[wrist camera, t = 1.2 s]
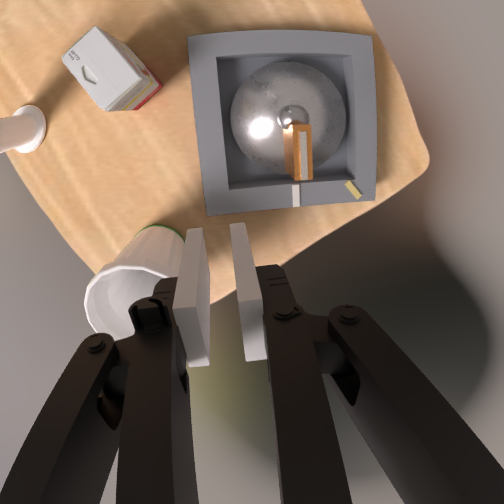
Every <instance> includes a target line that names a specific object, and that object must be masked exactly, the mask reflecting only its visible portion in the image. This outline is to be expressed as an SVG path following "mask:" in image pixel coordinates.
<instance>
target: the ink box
mask: <svg viewBox="0 0 504 504" xmlns="http://www.w3.org/2000/svg"><path fill="white" fill-rule="evenodd" d="M61 58H62V59H63V63H64V64H65V65H66V66H67V68H68V69H69V71H70V72H71V73H72V74H73V75H74V76H75V77H76V79H77V80H78V82H79V83H80V84H81V85H82V87H83V88H84V89H85V90H86V91H87V92H88V94H89V95H90V97H91V98H92V99H93V100H94V101H95V102H96V104H97V105H98V106H99V108H101V109H104V110H105V111H109V112H110V111H128V110H138V109H139V108H140V107H141V106H142V105H143V104H144V103H145V102H146V101H147V100H148V99H150V98H151V97H152V96H153V95H154V94H155V93H156V92H157V91H158V90H160V89H161V88H162V86H163V85H162V84H161V83H160V81H159V80H158V79H157V78H156V77H155V76H154V75H153V73H152V72H151V71H150V70H149V69H148V68H147V67H146V66H145V65H144V63H143V62H142V61H141V60H140V59H139V58H138V57H137V56H136V55H135V54H134V52H133V51H132V50H131V49H130V48H129V47H128V46H127V45H126V44H124V43H122V42H121V41H119V40H117V39H116V38H114V37H113V36H111V35H109V34H108V33H106V32H105V31H103V30H101V29H100V28H98V27H97V26H94V27H92V28H91V29H90V30H89V31H88V32H86V33H85V34H84V35H83V36H82V37H81V38H80V39H79V40H78V41H77V42H76V43H75V44H74V45H73V46H72V47H71V48H70V49H69V50H68V51H67V52H66V53H65V54H64V55H63V56H62V57H61Z"/></svg>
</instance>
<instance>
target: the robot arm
mask: <svg viewBox="0 0 504 504" xmlns="http://www.w3.org/2000/svg"><path fill="white" fill-rule="evenodd" d="M229 225H230V234H231V243H232V252H233V261H234V270H235V279H236V287H237V295H238V304H239V312H240V319H241V327H242V335H243V342H244V349H245V357H246V361H254V360H262V359H267V361H268V376H269V383H270V394H271V404H272V415H273V424H274V435H275V445H276V456H277V466H278V477H279V487H280V498H281V504H352V500H351V495H350V491H349V486H348V482H347V477H346V473H345V469H344V464H343V460H342V456H341V451H340V447H339V443H338V438H337V435H336V430H335V426H334V422H333V418H332V414H331V410H330V406H329V402H328V398H327V394H326V390H325V386H324V382H323V378H322V374H324V375H325V377H326V379H327V381H328V382H329V384H330V385H331V387H332V388H333V390H334V392H335V394H336V395H337V397H338V398H339V400H340V402H341V403H342V405H343V406H344V408H345V409H346V411H347V413H348V414H349V416H350V418H351V419H352V421H353V422H354V424H355V425H356V427H357V428H358V430H359V432H360V433H361V435H362V436H363V438H364V440H365V441H366V443H367V445H368V446H369V448H370V449H371V451H372V453H373V454H374V456H375V457H376V459H377V461H378V462H379V464H380V465H381V467H382V468H383V470H384V472H385V473H386V475H387V476H388V478H389V480H390V481H391V483H392V484H393V486H394V488H395V489H396V491H397V492H398V494H399V496H400V497H401V499H402V500H403V502H404V503H405V504H504V469H503V468H502V467H501V466H500V464H499V463H498V462H497V461H496V459H495V458H494V457H493V455H492V454H491V453H490V452H489V450H488V449H487V448H486V447H485V446H484V444H482V442H481V441H480V439H479V438H478V437H477V436H476V435H475V433H474V432H473V431H472V430H471V429H470V427H469V426H468V425H467V424H466V423H465V421H464V420H463V419H462V418H461V417H460V415H459V414H458V413H457V412H456V411H455V410H454V408H453V407H451V405H450V404H449V403H448V402H447V400H446V399H445V398H444V397H443V396H442V395H441V393H440V392H439V391H438V390H437V389H436V388H435V387H434V385H433V384H432V383H431V382H430V381H429V380H428V379H427V377H425V375H424V374H423V373H422V372H421V371H420V370H419V368H418V367H417V366H416V365H415V364H414V363H413V362H412V361H411V360H410V358H409V357H408V356H407V355H406V354H405V353H404V352H403V351H402V350H401V349H400V348H399V346H398V345H397V344H396V343H395V342H394V341H393V340H392V339H391V338H390V337H389V336H388V334H387V333H386V332H385V331H384V330H383V329H382V328H381V327H380V326H379V325H378V324H377V323H376V321H375V320H373V318H372V317H371V316H370V315H369V314H368V313H367V312H366V311H365V310H363V309H362V308H361V307H358V306H355V305H347V304H346V305H340V306H337V307H335V308H333V309H332V310H331V312H330V314H329V316H317V315H311V314H308V313H306V312H305V311H304V310H303V308H302V307H301V306H300V305H298V304H297V303H296V300H295V298H294V295H293V292H292V290H291V287H290V285H289V282H288V279H287V277H286V274H285V272H284V269H282V268H281V267H280V266H278V265H277V264H274V265H266V266H258V267H255V265H254V260H253V256H252V252H251V247H250V243H249V239H248V234H247V230H246V226H245V222H242V223H233V224H229ZM128 312H129V315H130V318H131V321H132V323H133V326H134V329H135V333H134V335H132V336H129V337H127V338H124V339H120V340H117V341H114V339H113V337H112V336H111V335H110V334H107V333H96V334H93V335H90V336H89V337H87V338H86V339H85V340H84V341H83V342H82V343H81V344H80V346H79V348H78V349H77V351H76V352H75V354H74V355H73V357H72V359H71V360H70V362H69V363H68V365H67V367H66V369H65V370H64V372H63V373H62V375H61V377H60V378H59V380H58V382H57V383H56V385H55V387H54V389H53V390H52V392H51V394H50V395H49V397H48V399H47V401H46V402H45V404H44V406H43V408H42V410H41V412H40V413H39V415H38V417H37V419H36V421H35V422H34V425H33V426H32V428H31V430H30V432H29V434H28V436H27V438H26V440H25V441H24V443H23V446H22V448H21V449H20V451H19V454H18V456H17V458H16V460H15V462H14V464H13V466H12V468H11V471H10V472H9V475H8V477H7V479H6V481H5V484H4V486H3V488H2V491H1V493H0V504H100V500H101V497H102V494H103V491H104V488H105V485H106V482H107V479H108V476H109V473H110V470H111V468H112V465H113V462H114V459H115V456H116V453H117V450H118V448H119V454H118V468H117V487H116V504H199V500H198V491H197V482H196V473H195V462H194V451H193V438H192V424H191V408H190V390H189V376H188V373H187V370H186V360H187V361H188V365H189V367H198V366H209V365H210V361H209V360H210V354H209V353H210V348H209V346H210V345H209V344H210V342H209V341H210V337H209V335H210V334H209V333H210V331H209V328H210V327H209V326H210V325H209V323H210V321H209V320H210V271H209V265H208V258H207V252H206V246H205V240H204V233H203V227H200V228H192V229H187V234H186V239H185V244H184V249H183V254H182V259H181V264H180V269H179V274H178V277H170V278H161V279H160V281H159V282H158V283H157V284H156V285H155V287H154V291H153V294H152V296H149V297H145V298H141V299H139V300H137V301H135V302H134V303H133V304H132V305H131V306H130V307H129V309H128Z"/></svg>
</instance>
